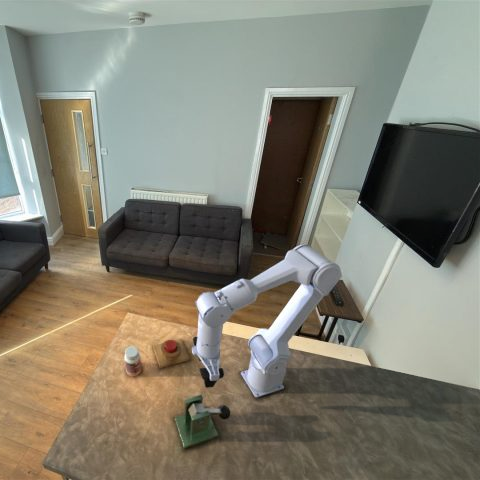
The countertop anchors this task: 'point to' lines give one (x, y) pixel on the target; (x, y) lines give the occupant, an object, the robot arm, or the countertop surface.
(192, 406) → the lever
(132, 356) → the pill bottle
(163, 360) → the button block
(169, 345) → the button
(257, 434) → the countertop surface
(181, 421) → the bracket
